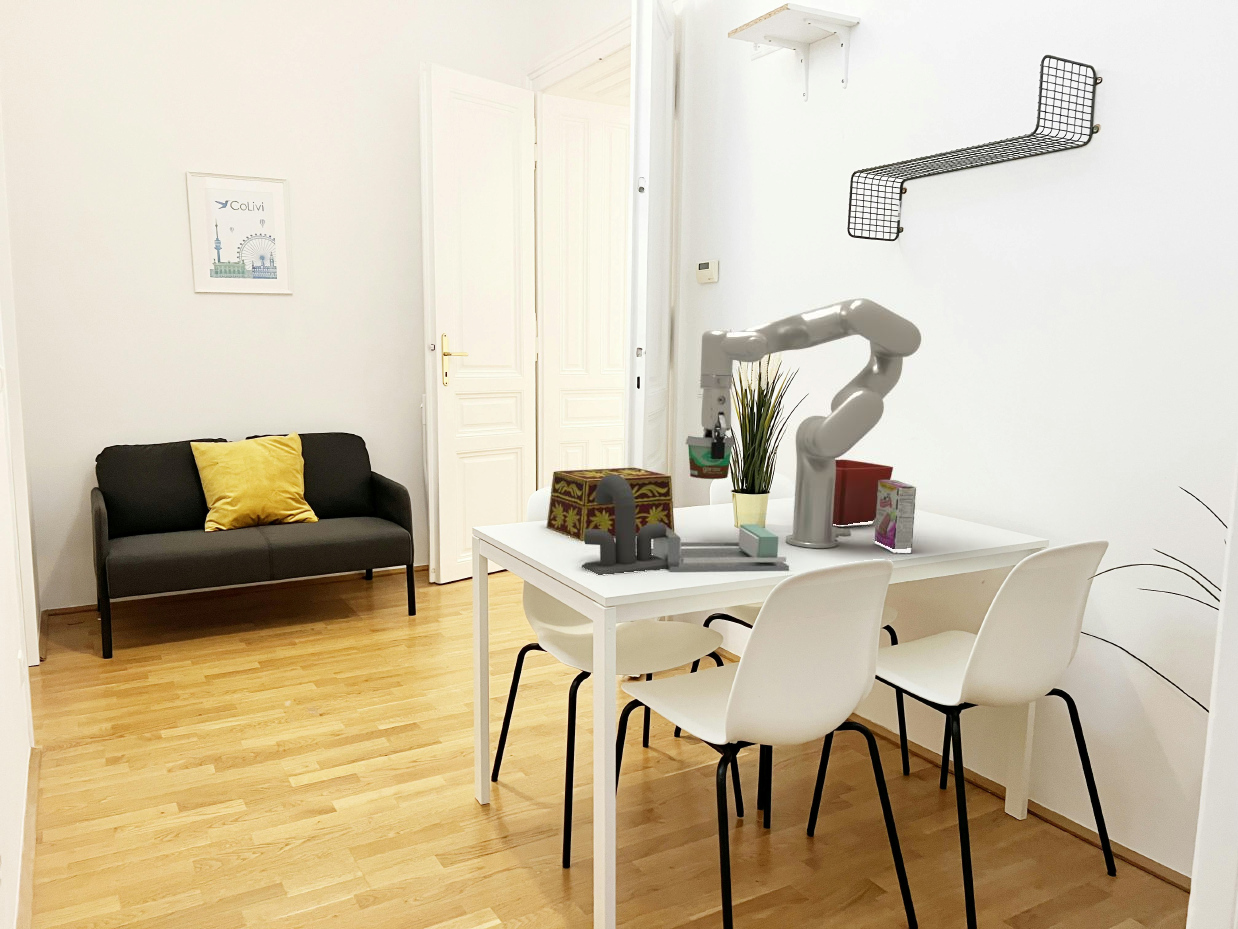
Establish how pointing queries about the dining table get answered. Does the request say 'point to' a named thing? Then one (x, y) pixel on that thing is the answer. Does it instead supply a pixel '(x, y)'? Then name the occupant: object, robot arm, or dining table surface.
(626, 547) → the faucet
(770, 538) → the block
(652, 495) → the decorative box
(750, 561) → the vise bed
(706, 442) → the food container
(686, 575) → the dining table surface
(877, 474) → the plant pot
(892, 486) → the candy bar box
